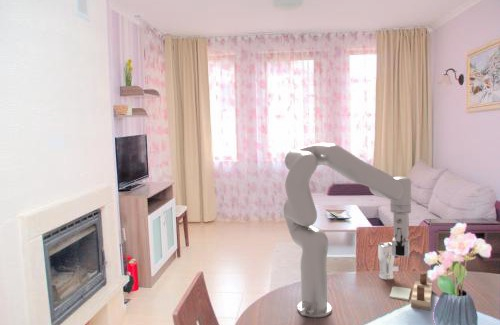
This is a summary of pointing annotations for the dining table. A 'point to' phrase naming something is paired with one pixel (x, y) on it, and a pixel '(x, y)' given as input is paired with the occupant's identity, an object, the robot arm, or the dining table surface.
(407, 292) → the mat
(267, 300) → the dining table surface
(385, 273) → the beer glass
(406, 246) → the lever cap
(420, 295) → the body
